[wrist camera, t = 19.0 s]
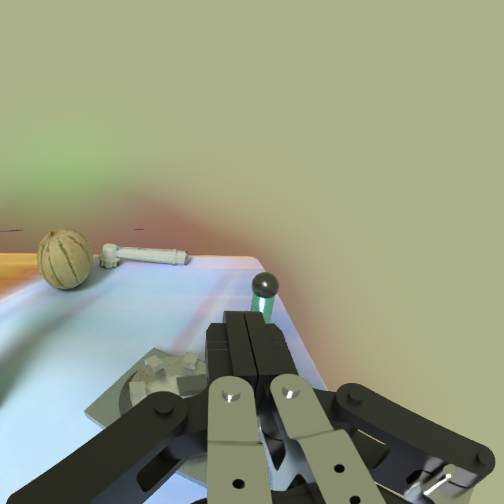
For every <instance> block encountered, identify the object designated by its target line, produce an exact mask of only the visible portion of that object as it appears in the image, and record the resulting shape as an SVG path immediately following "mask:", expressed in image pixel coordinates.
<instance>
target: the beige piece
mask: <svg viewBox="0 0 504 504" xmlns="http://www.w3.org/2000/svg"><path fill="white" fill-rule="evenodd" d="M187 257H188V253H187V252H186V251H178V250H176V249H174V250H165V249H147V248H129V247H117V246H116V245H114V244H106V245H104V247H103V251H102V253H100V254H99V259H100V265H101V266H105V267H106V268H111V267H115V268H116V267H117V266H118V265H119V261H120V259H121V258H124V259H132V260H140V261H149V262H158V263H167V264H173V265H174V264H176V265H186V264H187Z"/></svg>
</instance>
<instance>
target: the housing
mask: <svg viewBox="0 0 504 504" xmlns="http://www.w3.org/2000/svg"><path fill="white" fill-rule="evenodd" d="M153 355H155V356H157V357H158V358H159V359H160V358H165V357H173V356H170V355H168V354H166V353H164V352H162V351H160V350H158V349H156V348H153V349H151V350H150V351H149V352H148V353H147V354H146V355H145V356H144V357H143V358H142V359H141V360H139V361H138V362H137V363H136V364H135V365H134V366H133V367H132V368H131V369H130V370H128V371H127V372H126V373H125V374H124V375H123V376H122V377H121V378H120V379H119V380H118V381H116V382H115V383H114V384H113V385H112V386H111V387H110V388H109V389H108V390H107V391H105V392H104V393H103V394H102V395H101V396H100V397H99V398H98V399H97V400H96V401H95V402H93V403H92V404H91V405H90V406H89V407H88V408H87V409H86V410H85V411H84V412H85V414H86V416H87V418H89V419H90V420H91V421H93V422H94V423H95V424H97V425H98V426H100V427H101V428H102V429H105V428H107V427H108V426H109V425H111V424H112V423H113V422H114V421H116V420H117V419H118V418H120V417H121V416H122V415H124V414H125V413H126V412H127V411H129V410H130V409H131V408H133V405H132V402H131V398H130V385H129V382H131V381H132V379H133V377H134V375H135V374H136V373H137V371H138V370H139V369H141V368H142V367H143V366H144V365H145V359H147V358H149V357H151V356H153ZM256 417H257V426H258V430H259V427H260V419H259V416H256ZM175 473H176V474H178V475H180V476H182V477H184V478H186V479H188V480H191V481H193V482H195V483H197V484H199V485H201V486H204V487H206V488H207V452H205V453H201V454H198V455H194V456H191V457H189V458H188V460H187V461H186V462H185V463H184V464H183V465H182V466H181V467H180V468H179V469H178V470H177V471H176V472H175Z"/></svg>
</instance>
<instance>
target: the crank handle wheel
mask: <svg viewBox="0 0 504 504" xmlns="http://www.w3.org/2000/svg"><path fill="white" fill-rule="evenodd" d="M278 289H279V282H278V280H277V278H276V277H275V276H274V275H273V274H271V273H268V272H263V273H260V274H258V275H256V276H255V278H254V279H253V281H252V290H253V299H252V306H251V311H261V312H262V314H263V317H264V320H265V323H266V324H270V319H271V314H272V308H273V303H274V297H275V295H276V294H277V292H278ZM129 385H130V398H131V402H132V405H133V407H134V406H135V405H136V404H138V403H139V402H140V401H141V400H143V399H144V398H145V397H146V396H148V395H149V394H151V393H154V392H158V391H169V392H173V393H175V394H177V395H179V396H180V397H182V398H187V397H191V396H195V395H197V394H199V393H201V392H202V391H203V390H204V389H205V388H206V387H207V383H206V365H205V362H202V361H200V360H199V355H197V354H193V353H189V352H187V353H186V355H185V357H178V356H175V357H165V358H160V359H159V358H158V357H157V356H155V355H153V356H151V357H149V358H147V359H145V365H144V366H143V367H142V368H141V369H139V370H138V371H137V373H136V374H135V375H134V377H133V379H132V381H131V382H129Z"/></svg>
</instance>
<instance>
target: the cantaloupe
mask: <svg viewBox="0 0 504 504" xmlns="http://www.w3.org/2000/svg"><path fill="white" fill-rule="evenodd" d="M37 262H38V267H39V271H40V273H41V275H42V277H43V278H44V279H45V281H46V282H47V283H48V284H50V285H51V286H53V287H56V288H58V289H69V288H74V287H76V286H77V285H79V284H81V283H82V282H83V281H84V280H85V279H86V278H87V276H88V275H89V273H90V270H91V268H92V263H93V255H92V251H91V248H90V245H89V244H88V242H87V240H86V239H85V237H84V236H83V235H82V234H81V233H79V232H78V231H76V230H75V229H72V228H59V229H56V230H54V231H50V233H49V234H47V235H46V236H45V237H44V238H43V240H42V241H41V243H40V245H39V248H38V251H37Z"/></svg>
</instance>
